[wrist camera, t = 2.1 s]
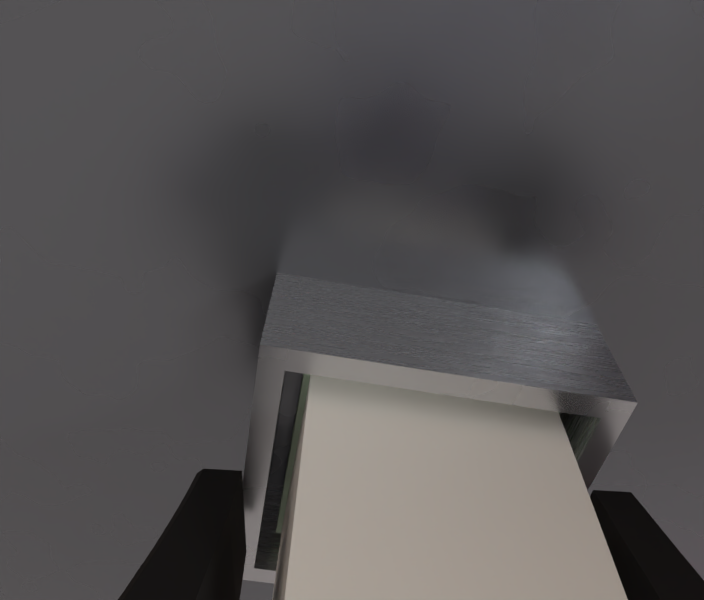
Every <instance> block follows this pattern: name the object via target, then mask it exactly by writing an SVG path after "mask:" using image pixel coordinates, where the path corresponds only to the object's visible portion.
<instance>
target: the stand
mask: <svg viewBox="0 0 704 600" xmlns="http://www.w3.org/2000/svg"><path fill="white" fill-rule="evenodd" d="M303 374H310V375H316V376H323V377H330V378H336V379H343V380H350V381H356V382H363V383H370V384H376V385H383V386H389V387H396V388H403V389H409V390H416V391H423V392H429V393H436V394H442V395H449V396H456V397H462V398H469V399H476V400H482V401H489V402H495V403H502V404H509V405H515V406H522V407H529V408H535V409H542V410H548V411H555V412H560V414H559V415H560V418H561V420H562V423H563V426H564V428H565V431H566V434H567V437H568V439H569V442H570V445H571V447H572V450H573V453H574V456H575V458H576V461H577V464H578V466H579V469H580V472H581V474H582V477H583V480H584V483H585V485H586V488H587V491H588V493H589V496H591V493H592V491H593V490H603V491H621V492H631V493H632V494H633V495H634V496H635V497H636V499H637V500H638V501H639V502H640V503H641V505H642V506H643V507H644V508H645V510H646V511H647V512H648V513H649V514H650V516H651V517H652V518H653V519H654V520H655V522H656V523H657V524H658V525H659V527H660V528H661V529H662V530H663V531H664V533H665V534H666V535H667V536H668V538H669V539H670V540H671V541H672V542H673V544H674V545H675V546H676V547H677V549H678V550H679V551H680V552H681V553H682V555H683V556H684V557H685V558H686V559H687V561H688V562H689V563H690V564H691V565H692V567H693V568H694V569H695V570H696V572H697V573H698V574H699V575H700V576H701V578H702V579H703V580H704V0H0V600H118V599H119V597H120V596H121V594H122V593H123V592H124V590H125V589H126V587H127V586H128V584H129V583H130V581H131V580H132V578H133V577H134V575H135V574H136V572H137V571H138V569H139V568H140V566H141V565H142V564H143V562H144V561H145V559H146V558H147V556H148V555H149V553H150V552H151V550H152V549H153V547H154V546H155V544H156V542H157V541H158V539H159V538H160V536H161V535H162V533H163V531H164V530H165V528H166V527H167V525H168V523H169V522H170V520H171V518H172V517H173V515H174V513H175V512H176V510H177V508H178V507H179V505H180V503H181V501H182V500H183V498H184V496H185V494H186V493H187V491H188V489H189V487H190V485H191V483H192V482H193V480H194V478H195V476H196V474H197V473H198V472H199V471H201V470H202V469H221V470H239V471H242V479H243V497H244V515H245V534H246V559H245V566H244V573H243V580H242V587H241V594H240V600H272V598H273V590H274V583H275V576H276V568H277V561H278V553H279V546H280V538H281V533H276V528H277V521H278V514H279V507H280V501H281V495H282V490H283V484H284V478H285V473H286V467H287V461H288V456H289V450H290V444H291V439H292V433H293V427H294V422H295V416H296V410H297V405H298V399H299V393H300V388H301V382H302V376H303Z"/></svg>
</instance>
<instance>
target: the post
mask: <svg viewBox="0 0 704 600" xmlns="http://www.w3.org/2000/svg"><path fill="white" fill-rule="evenodd" d="M559 414H560V412H555V411H548V410H542V409H535V408H529V407H522V406H515V405H509V404H502V403H495V402H489V401H482V400H476V399H469V398H462V397H456V396H449V395H442V394H436V393H429V392H423V391H416V390H409V389H403V388H396V387H389V386H383V385H376V384H370V383H363V382H356V381H350V380H343V379H336V378H330V377H323V376H316V375H310V374H303V376H302V382H301V388H300V393H299V399H298V405H297V410H296V416H295V422H294V427H293V433H292V439H291V444H290V450H289V456H288V461H287V467H286V473H285V478H284V484H283V490H282V495H281V501H280V507H279V514H278V521H277V528H276V533H281V538H280V546H279V553H278V561H277V568H276V576H275V583H274V590H273V598H272V600H628V599H627V596H626V594H625V591H624V588H623V585H622V583H621V580H620V577H619V575H618V572H617V569H616V567H615V564H614V561H613V558H612V556H611V553H610V550H609V548H608V545H607V542H606V539H605V537H604V534H603V531H602V529H601V526H600V523H599V521H598V518H597V515H596V512H595V510H594V507H593V504H592V502H591V499H590V496H589V493H588V491H587V488H586V485H585V483H584V480H583V477H582V474H581V472H580V469H579V466H578V464H577V461H576V458H575V456H574V453H573V450H572V447H571V445H570V442H569V439H568V437H567V434H566V431H565V428H564V426H563V423H562V420H561V418H560V415H559Z"/></svg>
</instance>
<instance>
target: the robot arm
mask: <svg viewBox="0 0 704 600" xmlns="http://www.w3.org/2000/svg"><path fill="white" fill-rule="evenodd" d="M590 499H591V502H592V504H593V507H594V510H595V512H596V515H597V518H598V521H599V523H600V526H601V529H602V531H603V534H604V537H605V539H606V542H607V545H608V548H609V550H610V553H611V556H612V558H613V561H614V564H615V567H616V569H617V572H618V575H619V577H620V580H621V583H622V585H623V588H624V591H625V594H626V596H627V599H628V600H704V580H703V579H702V578H701V576H700V575H699V574H698V573H697V572H696V570H695V569H694V568H693V567H692V565H691V564H690V563H689V562H688V561H687V559H686V558H685V557H684V556H683V555H682V553H681V552H680V551H679V550H678V549H677V547H676V546H675V545H674V544H673V542H672V541H671V540H670V539H669V538H668V536H667V535H666V534H665V533H664V531H663V530H662V529H661V528H660V527H659V525H658V524H657V523H656V522H655V520H654V519H653V518H652V517H651V516H650V514H649V513H648V512H647V511H646V510H645V508H644V507H643V506H642V505H641V503H640V502H639V501H638V500H637V499H636V497H635V496H634V495H633V494H632V493H631V492H621V491H603V490H593V491H592V493H591V496H590ZM245 559H246V534H245V515H244V497H243V479H242V471H239V470H221V469H202V470H201V471H199V472H198V473H197V474H196V476H195V478H194V480H193V482H192V483H191V485H190V487H189V489H188V491H187V493H186V494H185V496H184V498H183V500H182V501H181V503H180V505H179V507H178V508H177V510H176V512H175V513H174V515H173V517H172V518H171V520H170V522H169V523H168V525H167V527H166V528H165V530H164V531H163V533H162V535H161V536H160V538H159V539H158V541H157V542H156V544H155V546H154V547H153V549H152V550H151V552H150V553H149V555H148V556H147V558H146V559H145V561H144V562H143V564H142V565H141V566H140V568H139V569H138V571H137V572H136V574H135V575H134V577H133V578H132V580H131V581H130V583H129V584H128V586H127V587H126V589H125V590H124V592H123V593H122V594H121V596H120V597H119V599H118V600H240V594H241V587H242V580H243V573H244V566H245Z"/></svg>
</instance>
